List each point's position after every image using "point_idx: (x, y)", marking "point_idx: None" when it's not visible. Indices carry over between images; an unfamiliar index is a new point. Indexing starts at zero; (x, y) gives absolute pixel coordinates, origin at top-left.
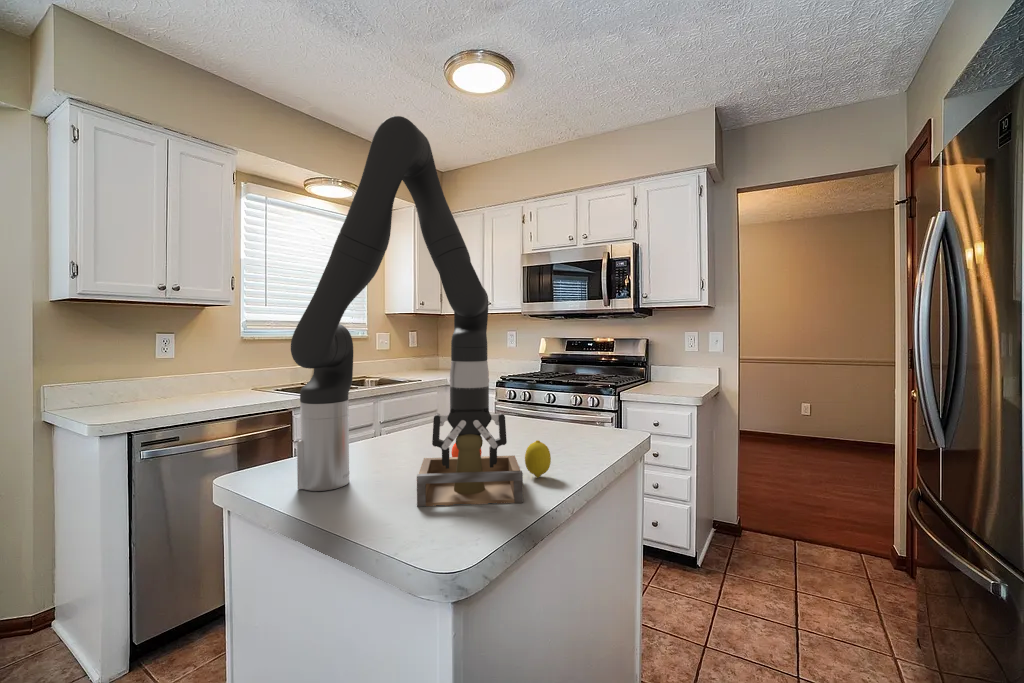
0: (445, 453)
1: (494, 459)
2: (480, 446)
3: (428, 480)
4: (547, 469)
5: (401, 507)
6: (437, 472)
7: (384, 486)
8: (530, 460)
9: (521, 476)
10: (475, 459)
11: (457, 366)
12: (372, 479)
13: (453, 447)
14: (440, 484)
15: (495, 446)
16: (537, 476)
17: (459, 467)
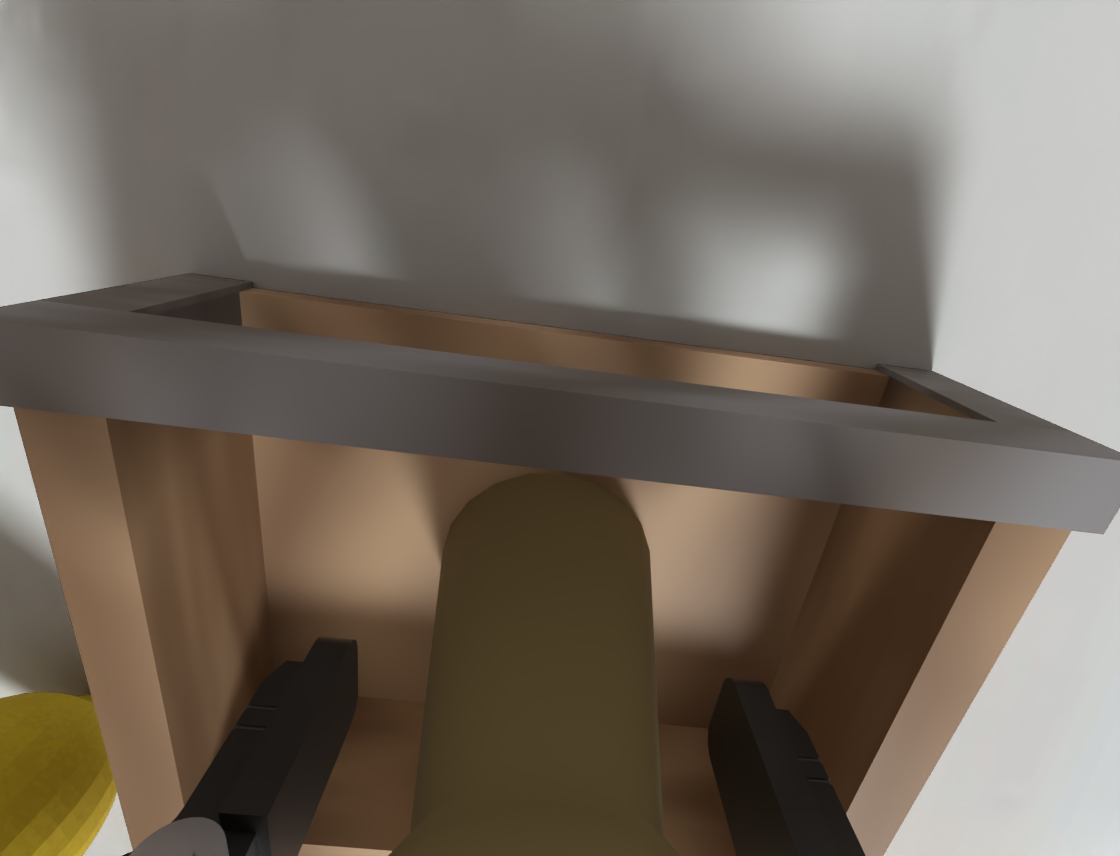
0: (823, 821)
1: (277, 703)
2: None
3: (993, 428)
4: None
5: (1028, 387)
6: None
7: (1002, 730)
8: (22, 789)
9: (10, 308)
10: (483, 695)
11: None
12: (1025, 827)
13: None
14: (711, 672)
15: (165, 847)
16: (86, 696)
17: (642, 658)
